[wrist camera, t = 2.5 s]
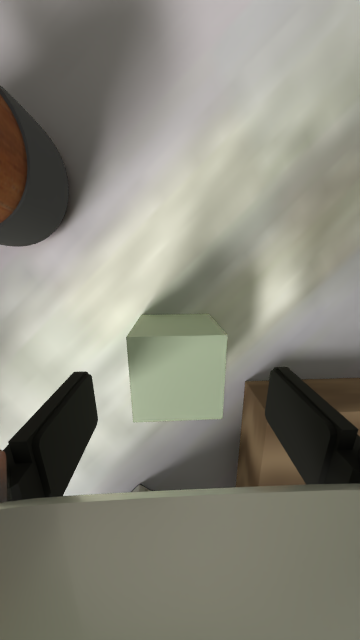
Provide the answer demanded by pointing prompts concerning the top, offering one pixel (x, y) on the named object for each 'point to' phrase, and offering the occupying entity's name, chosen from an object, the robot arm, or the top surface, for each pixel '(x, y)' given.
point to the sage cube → (176, 367)
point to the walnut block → (263, 445)
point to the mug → (28, 178)
